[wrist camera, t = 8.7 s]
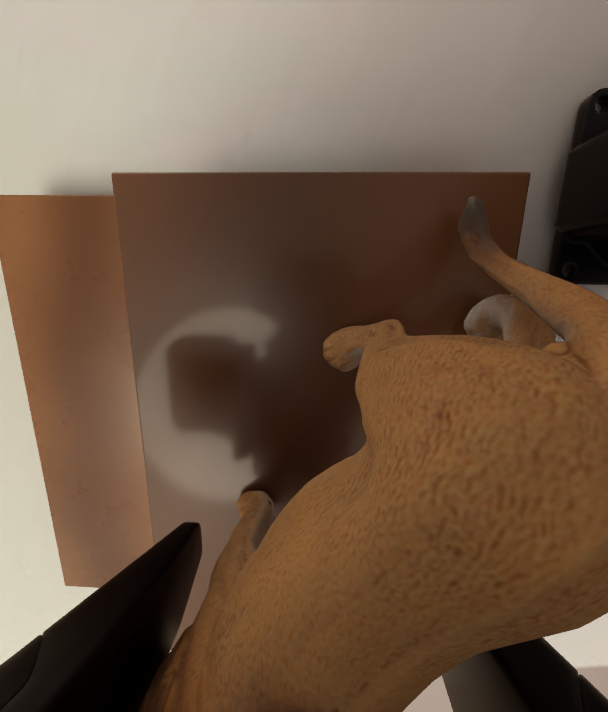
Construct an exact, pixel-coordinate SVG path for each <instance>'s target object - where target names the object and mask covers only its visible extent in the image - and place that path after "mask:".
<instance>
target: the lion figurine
mask: <svg viewBox="0 0 608 712" xmlns="http://www.w3.org/2000/svg"><path fill="white" fill-rule="evenodd" d="M458 230H459V233H460V237H461V242H462V243H463V244H464V246H465V249H466V251H467V252H468V254H469V257H470V258H471V259H472V260H473V261H474V262H475V263H476V264H477V265H478V266H479V267H481V268H482V269H483V270H484V271H485V272H486V273H487V274H488V275H489V276H490V277H491V278H492V279H493V280H495V281H496V282H497V283H499V284H500V285H501V286H503V287H504V288H505V289H506V290H507V291H508V292H509V293H510V294H512V295H513V296H511V295H508V294H498V295H495V296H491V297H488V298H486V299H484V300H482V301H481V302H479V303H478V304H477V305H475V306H474V307H473V308H472V309H471V310H470V312H469V313H468V315H467V317H466V319H465V320H464V329H465V331H466V333H467V335H423V336H409V335H406V333H405V330H404V326H403V325H402V324H401V323H400V322H399V321H398V320H395V319H390V320H384V321H381V322H378V323H374V324H370V325H366V326H349V327H345V328H342V329H340V330H338V331H336V332H333V333H332V334H331V335H330V336H329V337H328V338H327V339H326V340H325V341H324V344H323V355H324V358H325V359H326V360H327V362H328V363H329V364H330V365H331V366H333V367H335V368H337V369H339V370H340V371H343V372H347V371H350V370H352V369H354V368H356V367H357V366H358V365H359V364H360V365H359V369H358V373H357V378H356V383H355V391H356V396H357V399H358V402H359V404H360V408H361V413H362V424H363V428H364V431H365V434H366V443H365V445H364V446H363V447H362V448H361V449H360V450H359V451H358V452H357V453H356V454H355V455H353V456H350V457H347V458H346V459H344V460H343V461H341V462H339V463H337V464H335V465H333V466H331V467H330V468H328V469H327V470H325V471H324V472H322V473H321V474H319V475H318V476H316V477H315V478H313V479H312V480H310V481H309V482H308V483H306V484H305V485H304V487H303V488H302V489H301V490H300V491H299V492H298V493H297V494H296V495H295V496H294V497H293V498H292V499H291V500H290V501H289V503H288V504H287V505H286V506H285V507H284V509H283V510H282V511H281V512H280V514H279V515H278V516H277V518H276V519H275V516H274V503H273V501H272V499H271V498H270V497H269V495H268V494H267V493H265V492H263V491H248V492H245V493H244V494H242V495H241V497H240V498H239V500H238V501H237V508H238V510H239V514H240V517H241V518H242V519H241V520H240V522H239V523H238V525H237V526H236V527H235V529H234V531H233V533H232V534H231V537H230V539H229V541H228V543H227V545H226V546H225V548H224V550H223V551H222V553H221V554H220V556H219V558H218V559H217V561H216V563H215V566H214V568H213V571H212V574H211V579H210V584H209V590H208V593H207V595H206V597H205V599H204V601H203V603H202V605H201V607H200V609H199V611H198V613H197V615H196V617H195V620H194V622H193V624H192V625H190V626H189V627H188V628H186V629H185V630H184V632H183V633H182V635H181V636H180V638H179V639H178V641H177V643H176V644H175V646H174V648H173V649H172V651H171V652H170V653H169V654H168V655H167V656H166V657H165V659H164V660H163V662H162V663H161V665H160V666H159V668H158V670H157V672H156V674H155V676H154V678H153V680H152V682H151V684H150V686H149V689H148V691H147V693H146V695H145V698H144V700H143V702H142V705H141V707H140V710H139V712H402V711H403V710H404V709H405V708H406V707H407V706H408V705H409V704H410V703H411V702H412V701H413V700H414V699H415V698H416V697H417V696H418V695H419V694H420V693H421V692H422V691H423V690H424V689H425V688H427V686H428V685H430V684H431V682H433V681H434V680H435V679H437V678H438V677H440V676H441V675H443V674H444V673H446V672H447V671H449V670H450V669H452V668H454V667H455V666H457V665H458V664H460V663H462V662H464V661H466V660H468V659H469V658H471V657H473V656H475V655H477V654H479V653H482V652H485V651H489V650H493V649H497V648H501V647H505V646H509V645H513V644H517V643H521V642H525V641H529V640H534V639H538V638H542V637H546V636H550V635H554V634H558V633H562V632H566V631H570V630H573V629H577V628H580V627H582V626H584V625H586V624H588V623H590V622H592V621H593V620H595V619H597V618H599V617H601V616H602V615H604V614H606V613H608V300H606V299H605V298H603V297H601V296H599V295H597V294H595V293H593V292H591V291H589V290H587V289H585V288H583V287H580V286H578V285H576V284H574V283H571V282H568V281H566V280H563V279H561V278H558V277H555V276H552V275H550V274H548V273H545V272H543V271H540V270H538V269H535V268H533V267H530V266H527V265H525V264H522V263H520V262H518V261H516V260H514V259H512V258H510V257H509V256H507V255H506V254H505V253H504V252H503V251H502V250H501V249H500V248H499V246H498V245H497V244H496V243H495V241H494V240H493V239H492V237H491V234H490V231H489V222H488V220H487V218H486V216H485V208H484V204H483V202H482V200H481V198H478V197H475V196H472V197H470V198H468V202H467V205H466V208H465V210H464V212H463V214H462V216H461V218H460V220H459V226H458ZM514 296H515V297H514ZM556 334H558V335H559V336H560V337H561V338H563V339H564V342H558V343H556V342H555V338H556ZM502 339H503V340H502ZM274 520H275V521H274Z"/></svg>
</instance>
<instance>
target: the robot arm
mask: <svg viewBox="0 0 608 712" xmlns="http://www.w3.org/2000/svg"><path fill="white" fill-rule="evenodd" d="M596 103H598V104H599V105H600V109H601V111H600V113H597V111H596V110H595V104H596ZM555 225H556V227H557V228H556V234H555V239H554V244H553V250H552V255H551V260H550V266H549V274H550V275H552V276H555V277H558V278H561V279H563V280H566V281H568V282H571V283H574V284H590V285H608V88H603V89H600V90H598V91H597V92H595V93H594V94H592V95H591V96H589V97H588V98H586V99H585V100H584V101H583V103H582V104H581V105H580V108H579V111H578V116H577V121H576V126H575V132H574V137H573V143H572V148H571V152H570V153H569V155H568V159H567V164H566V169H565V175H564V180H563V186H562V191H561V196H560V202H559V207H558V213H557V218H556V223H555ZM565 266H567V267H568V273H567V275H566V276H564V275H563V273H562V270H563V268H564V267H565ZM201 555H202V536H201V526H200V524H199V523H198V522H184V523H182V524H181V525H179V526H178V527H177V528H176V529H174V530H173V531H172V532H171V533H169V534H168V535H167V536H165V537H164V538H163V539H162V540H160V541H159V542H158V543H157V544H155V545H154V546H153V547H151V548H150V549H149V550H148V551H146V552H145V553H144V554H142V555H141V556H140V557H139V558H137V559H136V560H135V561H134V562H132V563H131V564H130V565H128V566H127V567H126V568H125V569H123V570H122V571H121V572H119V573H118V574H117V575H116V576H114V577H113V578H112V579H111V580H109V581H108V582H107V583H105V584H104V585H103V586H102V587H100V588H99V589H98V590H97V591H95V592H94V593H93V594H91V595H90V596H89V597H88V598H86V599H85V600H84V601H82V602H81V603H80V604H79V605H77V606H76V607H75V608H74V609H72V610H71V611H70V612H68V613H67V614H66V615H65V616H63V617H62V618H61V619H59V620H58V621H57V622H56V623H54V624H53V625H52V626H51V627H49V628H48V629H47V630H45V631H44V633H43V635H39V636H38V637H36V638H35V639H34V640H32V641H31V642H30V643H29V644H27V645H26V646H25V647H24V648H22V649H21V650H20V651H18V652H17V653H16V654H14V655H13V656H12V657H11V658H9V659H8V660H7V661H5V662H4V663H3V664H1V665H0V712H139V710H140V707H141V705H142V702H143V700H144V698H145V695H146V693H147V691H148V689H149V686H150V684H151V682H152V680H153V678H154V676H155V674H156V672H157V670H158V668H159V666H160V665H161V663H162V662H163V660H164V659H165V657H166V656H167V655H168V654H169V652H170V650H171V647H172V645H173V642H174V640H175V637H176V635H177V632H178V630H179V627H180V624H181V621H182V618H183V615H184V612H185V609H186V606H187V602H188V599H189V596H190V592H191V589H192V586H193V583H194V579H195V576H196V573H197V569H198V566H199V563H200V560H201ZM442 677H443V680H444V683H445V687H446V690H447V693H448V696H449V699H450V702H451V706H452V708H453V712H608V699H607V698H606V697H605V696H604V695H602V694H601V693H600V692H599V691H598V690H597V689H596V688H595V687H594V686H593V685H592V684H591V683H590V682H589V681H588V680H587V679H586V678H585V677H584V676H583V675H581V674H580V675H578V672H577V670H576V669H575V668H574V667H573V666H572V665H571V664H570V663H569V662H568V661H567V660H566V659H565V658H564V657H563V656H562V655H560V654H559V653H558V652H557V651H556V650H555V649H554V648H553V647H552V646H551V645H550V644H549V643H548V642H547V641H546V640H545V639H544V638H543V637H542V638H538V639H534V640H529V641H525V642H521V643H517V644H513V645H509V646H505V647H501V648H497V649H493V650H489V651H485V652H482V653H479V654H477V655H475V656H473V657H471V658H469V659H468V660H466V661H464V662H462V663H460V664H458V665H457V666H455V667H454V668H452V669H450V670H449V671H447V672H446V673H444V674H443V675H442Z"/></svg>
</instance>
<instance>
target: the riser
mask: <svg viewBox="0 0 608 712" xmlns="http://www.w3.org/2000/svg"><path fill="white" fill-rule="evenodd" d="M529 180H530V172H193V173H112V183H113V192H114V195H0V260H1V265H2V270H3V275H4V280H5V285H6V290H7V295H8V300H9V305H10V310H11V315H12V320H13V325H14V330H15V335H16V340H17V345H18V350H19V355H20V361H21V366H22V371H23V376H24V381H25V386H26V391H27V396H28V401H29V406H30V411H31V416H32V421H33V426H34V431H35V436H36V441H37V446H38V451H39V456H40V461H41V466H42V471H43V476H44V481H45V486H46V491H47V496H48V501H49V506H50V511H51V516H52V521H53V526H54V531H55V536H56V541H57V546H58V551H59V556H60V561H61V566H62V571H63V576H64V581H65V585H66V586H80V587H96V588H100V587H102V586H103V585H104V584H105V583H107V582H108V581H109V580H111V579H112V578H113V577H114V576H116V575H117V574H118V573H119V572H121V571H122V570H123V569H125V568H126V567H127V566H128V565H130V564H131V563H132V562H134V561H135V560H136V559H137V558H139V557H140V556H141V555H142V554H144V553H145V552H146V551H148V550H149V549H150V548H151V547H153V546H154V545H155V544H157V543H158V542H159V541H160V540H162V539H163V538H164V537H165V536H167V535H168V534H169V533H171V532H172V531H173V530H174V529H176V528H177V527H178V526H179V525H181V524H182V523H184V522H198V523H199V524H200V526H201V536H202V555H201V560H200V563H199V566H198V569H197V573H196V576H195V579H194V583H193V586H192V589H191V592H190V596H189V599H188V602H187V606H186V609H185V612H184V615H183V618H182V621H181V624H180V627H179V630H178V632H177V635H176V637H175V640H174V642H173V645H172V647H171V650H172V649H173V648H174V646H175V644H176V643H177V641H178V639H179V638H180V636H181V635H182V633H183V632H184V630H185V629H186V628H188V627H189V626H190V625H192V624H193V622H194V620H195V617H196V615H197V613H198V611H199V609H200V607H201V605H202V603H203V601H204V599H205V597H206V595H207V593H208V590H209V584H210V579H211V574H212V571H213V568H214V566H215V563H216V561H217V559H218V558H219V556H220V554H221V553H222V551H223V550H224V548H225V546H226V545H227V543H228V541H229V539H230V537H231V534H232V533H233V531H234V529H235V527H236V526H237V525H238V523H239V522H240V520H241V519H242V518H241V517H240V514H239V510H238V508H237V501H238V500H239V498H240V497H241V495H242V494H244V493H245V492H248V491H263V492H265V493H267V494H268V495H269V497H270V498H271V499H272V501H273V503H274V516H275V519H276V518H277V516H278V515H279V514H280V512H281V511H282V510H283V509H284V507H285V506H286V505H287V504H288V503H289V501H290V500H291V499H292V498H293V497H294V496H295V495H296V494H297V493H298V492H299V491H300V490H301V489H302V488H303V487H304V485H305V484H306V483H308V482H309V481H310V480H312V479H313V478H315V477H316V476H318V475H319V474H321V473H322V472H324V471H325V470H327V469H328V468H330V467H331V466H333V465H335V464H337V463H339V462H341V461H343V460H344V459H346V458H347V457H350V456H353V455H355V454H356V453H357V452H358V451H359V450H360V449H361V448H362V447H363V446H364V445H365V443H366V434H365V431H364V428H363V424H362V413H361V408H360V404H359V402H358V399H357V396H356V391H355V383H356V378H357V373H358V369H359V365H360V364H359V365H358V366H357V367H356V368H354V369H352V370H350V371H347V372H343V371H340V370H339V369H337V368H335V367H333V366H331V365H330V364H329V363H328V362H327V360H326V359H325V358H324V355H323V344H324V341H325V340H326V339H327V338H328V337H329V336H330V335H331V334H332V333H333V332H336V331H338V330H340V329H342V328H345V327H349V326H366V325H370V324H374V323H378V322H381V321H384V320H390V319H395V320H398V321H399V322H400V323H401V324H402V325H403V326H404V330H405V333H406V335H409V336H423V335H467V333H466V331H465V329H464V320H465V319H466V317H467V315H468V313H469V312H470V310H471V309H472V308H473V307H474V306H475V305H477V304H478V303H479V302H481V301H482V300H484V299H486V298H488V297H491V296H495V295H498V294H508V295H511V294H510V293H509V292H508V291H507V290H506V289H505V288H504V287H503V286H501V285H500V284H499V283H497V282H496V281H495V280H493V279H492V278H491V277H490V276H489V275H488V274H487V273H486V272H485V271H484V270H483V269H482V268H481V267H479V266H478V265H477V264H476V263H475V262H474V261H473V260H472V259H471V258H470V257H469V254H468V252H467V251H466V249H465V246H464V244H463V243H462V242H461V237H460V233H459V230H458V226H459V220H460V218H461V216H462V214H463V212H464V210H465V208H466V205H467V202H468V198H470V197H472V196H475V197H478V198H481V200H482V202H483V204H484V208H485V216H486V218H487V220H488V222H489V231H490V234H491V237H492V239H493V240H494V241H495V243H496V244H497V245H498V246H499V248H500V249H501V250H502V251H503V252H504V253H505V254H506V255H507V256H509V257H510V258H512V259H514V260H517V254H518V248H519V241H520V235H521V229H522V223H523V217H524V211H525V205H526V198H527V192H528V186H529ZM502 340H503V339H502ZM274 521H275V520H274Z"/></svg>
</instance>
